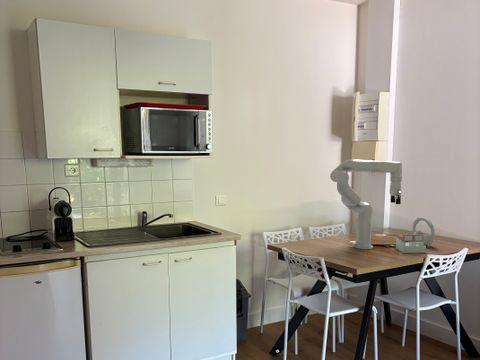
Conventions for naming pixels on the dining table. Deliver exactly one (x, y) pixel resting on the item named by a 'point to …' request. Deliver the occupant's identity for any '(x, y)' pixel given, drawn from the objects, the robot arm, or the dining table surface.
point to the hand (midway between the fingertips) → (395, 203)
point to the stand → (410, 247)
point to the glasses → (410, 237)
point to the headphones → (427, 236)
